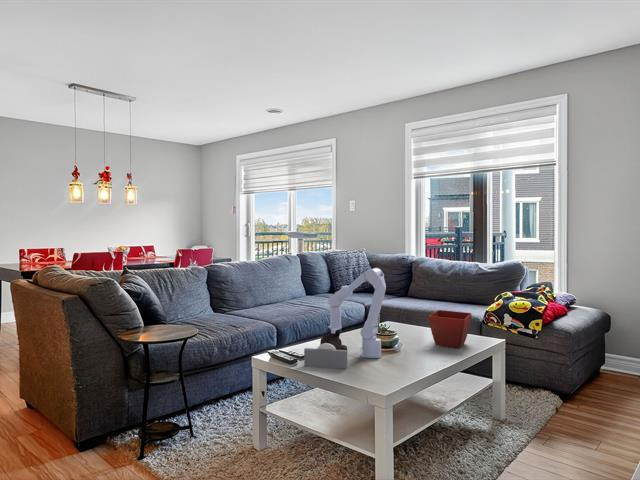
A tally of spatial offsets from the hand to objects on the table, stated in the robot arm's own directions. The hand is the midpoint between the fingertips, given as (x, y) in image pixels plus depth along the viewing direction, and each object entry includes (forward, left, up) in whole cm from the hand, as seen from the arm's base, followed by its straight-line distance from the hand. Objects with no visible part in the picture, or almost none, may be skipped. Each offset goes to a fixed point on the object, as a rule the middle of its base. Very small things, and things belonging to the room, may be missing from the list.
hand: (335, 344), depth 241 cm
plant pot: (-59, -26, -4) cm, 65 cm away
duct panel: (0, +26, -4) cm, 27 cm away
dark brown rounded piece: (0, +8, -4) cm, 9 cm away
